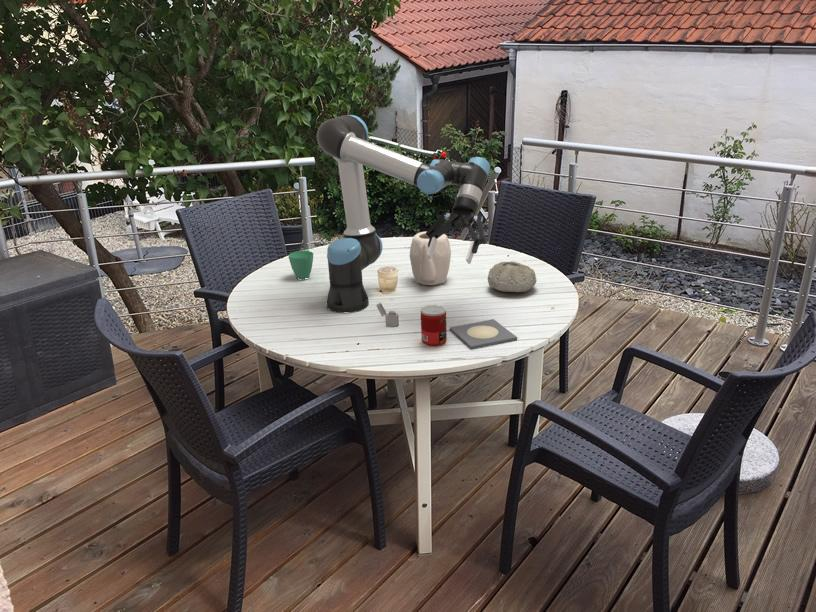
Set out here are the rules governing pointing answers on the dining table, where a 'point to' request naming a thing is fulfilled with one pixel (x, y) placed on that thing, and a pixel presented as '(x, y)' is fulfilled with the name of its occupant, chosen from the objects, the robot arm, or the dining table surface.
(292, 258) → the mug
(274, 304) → the dining table surface
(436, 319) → the canned food
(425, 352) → the dining table surface
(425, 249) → the cream ceramic pot
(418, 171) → the robot arm
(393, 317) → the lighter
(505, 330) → the mat
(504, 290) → the grey rounded rock
